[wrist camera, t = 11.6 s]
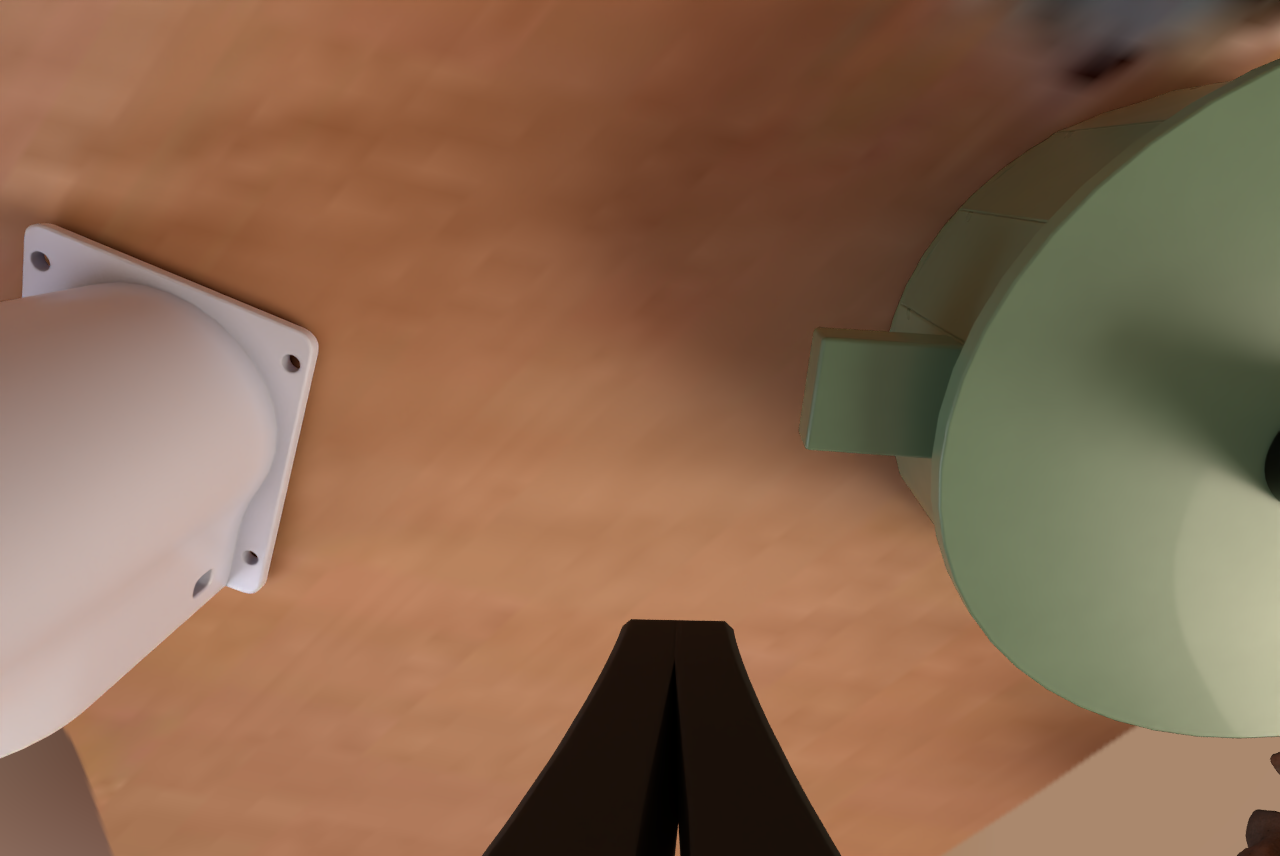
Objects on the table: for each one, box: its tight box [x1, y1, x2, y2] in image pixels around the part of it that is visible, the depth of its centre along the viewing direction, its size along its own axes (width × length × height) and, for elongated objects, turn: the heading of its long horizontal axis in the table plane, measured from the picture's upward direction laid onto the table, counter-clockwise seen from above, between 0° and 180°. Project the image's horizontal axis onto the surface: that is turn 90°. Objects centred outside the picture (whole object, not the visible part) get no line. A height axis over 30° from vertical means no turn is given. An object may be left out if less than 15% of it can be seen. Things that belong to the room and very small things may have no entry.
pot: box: [799, 81, 1231, 525], centre depth 14 cm, size 12×18×5 cm
